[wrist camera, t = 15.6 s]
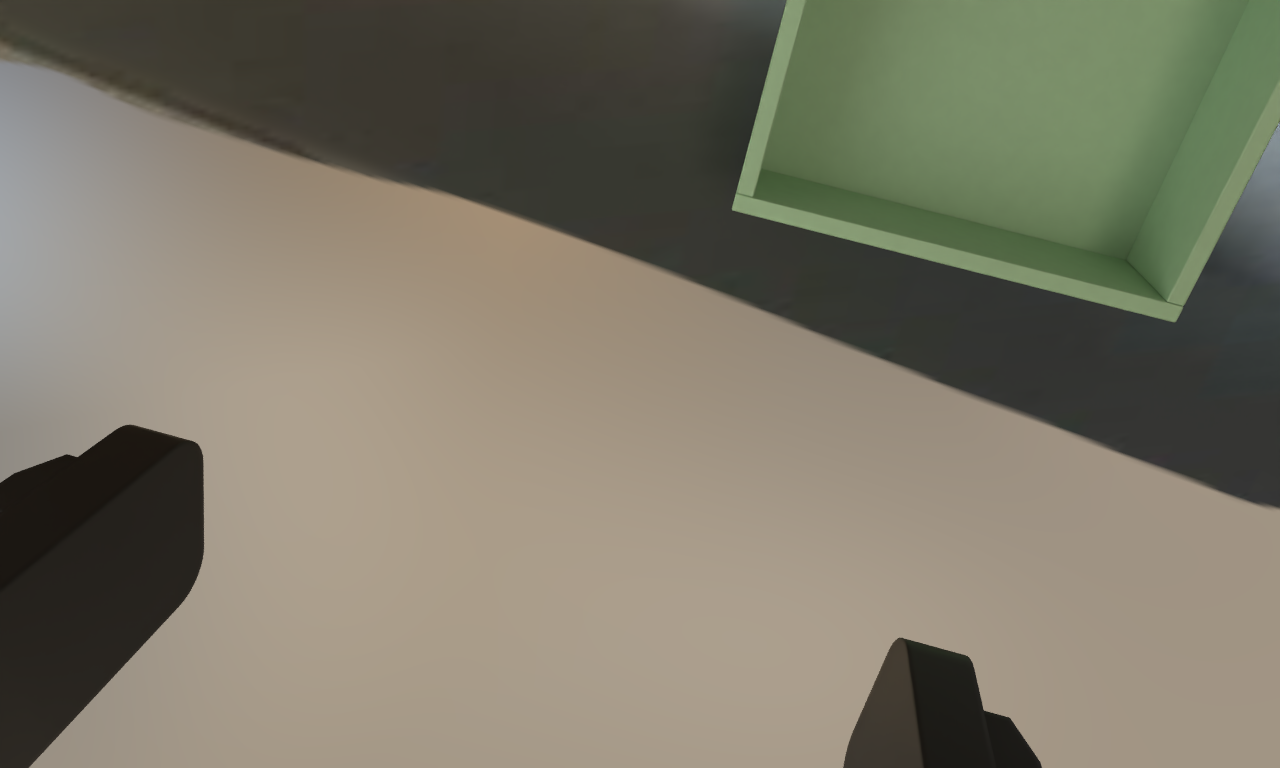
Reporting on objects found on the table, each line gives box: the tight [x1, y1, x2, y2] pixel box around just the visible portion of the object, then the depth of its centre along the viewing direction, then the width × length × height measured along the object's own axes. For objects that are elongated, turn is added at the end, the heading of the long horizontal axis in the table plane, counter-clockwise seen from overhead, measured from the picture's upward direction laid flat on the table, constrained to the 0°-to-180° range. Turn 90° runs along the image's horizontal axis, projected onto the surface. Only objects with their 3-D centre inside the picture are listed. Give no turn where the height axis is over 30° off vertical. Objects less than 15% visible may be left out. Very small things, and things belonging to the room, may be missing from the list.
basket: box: [732, 0, 1280, 322], centre depth 31 cm, size 13×15×5 cm
